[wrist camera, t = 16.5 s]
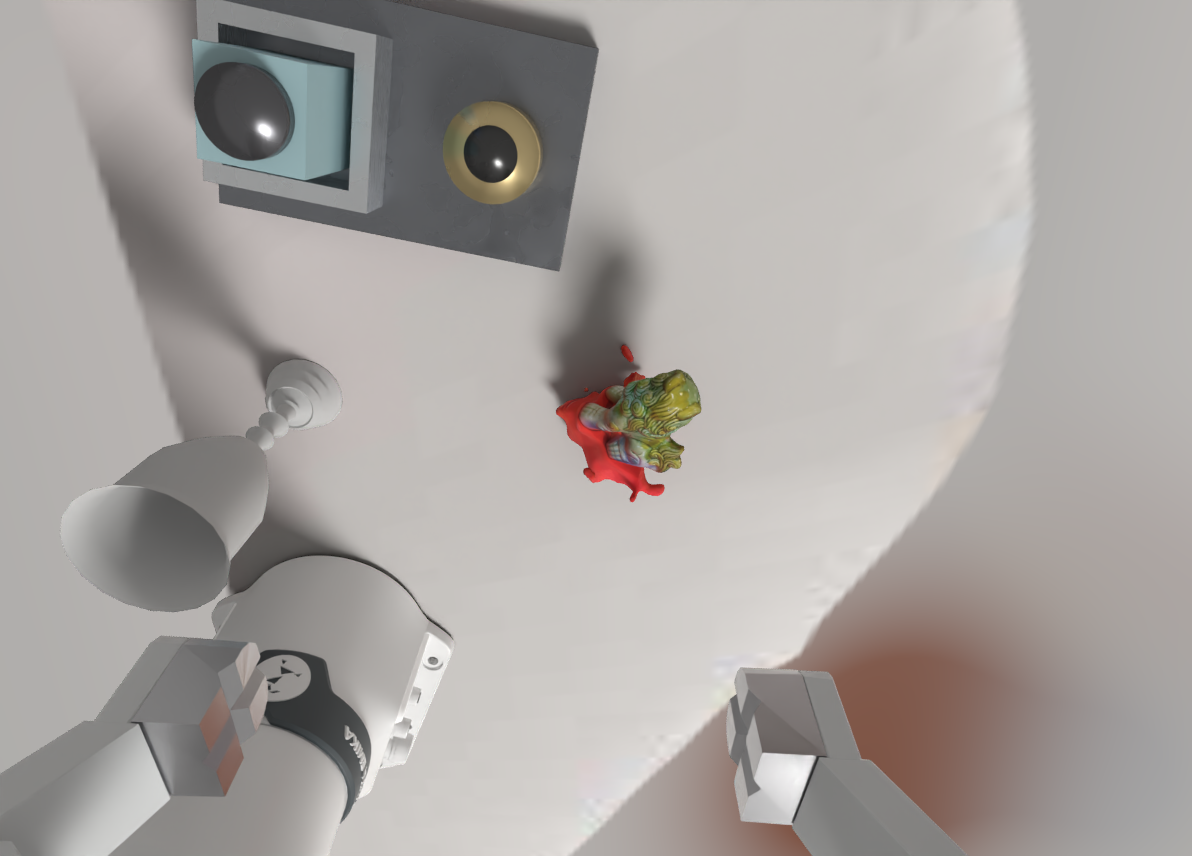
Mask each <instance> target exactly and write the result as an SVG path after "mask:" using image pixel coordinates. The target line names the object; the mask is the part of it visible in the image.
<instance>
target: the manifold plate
mask: <svg viewBox="0 0 1192 856" xmlns="http://www.w3.org/2000/svg"><path fill="white" fill-rule="evenodd" d="M196 12H197V36H198V40H204V41H211V42H218V43H225V44H232V45H239V46H246V47H253V48H260V49H265V50H270V51H274V52H279V53H284V54H288V55H293V56H297V57H302V58H306V59H311V60H315V61H320V62H325V63H329V64H334V65H338V66H343V67H347V68H352V69H354V82H353V104H352V127H351V150H350V168H348V169H345V170H341V171H338V172H334V173H330V174H327V175H323V176H319V177H316V178H312V179H309V180H301V179H296V178H291V177H286V176H281V175H276V174H272V173H267V172H262V171H257V170H252V169H247V168H242V167H238V166H233V165H228V164H223V163H218V162H213V161H208V160H204V159H203V179H204V181H208V182H213V183H218V184H219V203H223V204H228V205H233V206H238V207H243V208H248V209H253V210H258V211H263V212H267V213H272V214H277V215H282V216H287V217H292V218H297V219H302V220H307V221H312V222H317V223H322V224H327V225H332V226H337V227H342V228H347V229H352V230H357V231H361V232H366V233H371V234H376V235H381V236H386V237H391V238H396V239H401V240H406V241H411V242H416V243H421V244H426V245H431V246H436V247H441V248H446V249H450V250H455V251H460V252H465V253H470V254H475V255H480V256H485V257H490V258H495V259H500V260H505V261H510V262H515V263H520V264H525V265H530V266H535V267H539V268H544V269H549V270H554V271H559V270H560V266H561V260H562V255H563V249H564V244H565V238H566V232H567V227H568V221H569V215H570V210H571V204H572V199H573V193H574V187H575V182H576V176H577V171H578V165H579V159H580V154H581V148H582V143H583V137H584V131H585V126H586V120H587V114H588V109H589V103H590V98H591V92H592V86H593V81H594V75H595V70H596V64H597V58H598V53H599V49H597V48H593V47H588V46H584V45H580V44H575V43H571V42H566V41H562V40H558V39H553V38H549V37H545V36H540V35H536V34H531V33H527V32H523V31H518V30H514V29H509V28H505V27H501V26H496V25H492V24H488V23H483V22H479V21H474V20H470V19H466V18H461V17H457V16H453V15H448V14H444V13H439V12H435V11H431V10H426V9H422V8H417V7H413V6H409V5H404V4H400V3H396V2H391V1H387V0H196Z"/></svg>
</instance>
